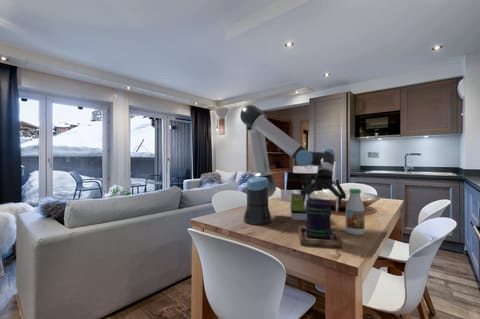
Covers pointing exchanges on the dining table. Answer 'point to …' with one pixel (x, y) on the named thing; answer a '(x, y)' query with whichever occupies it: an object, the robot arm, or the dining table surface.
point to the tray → (319, 240)
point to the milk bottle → (355, 213)
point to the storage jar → (318, 219)
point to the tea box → (297, 205)
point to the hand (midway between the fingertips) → (320, 208)
